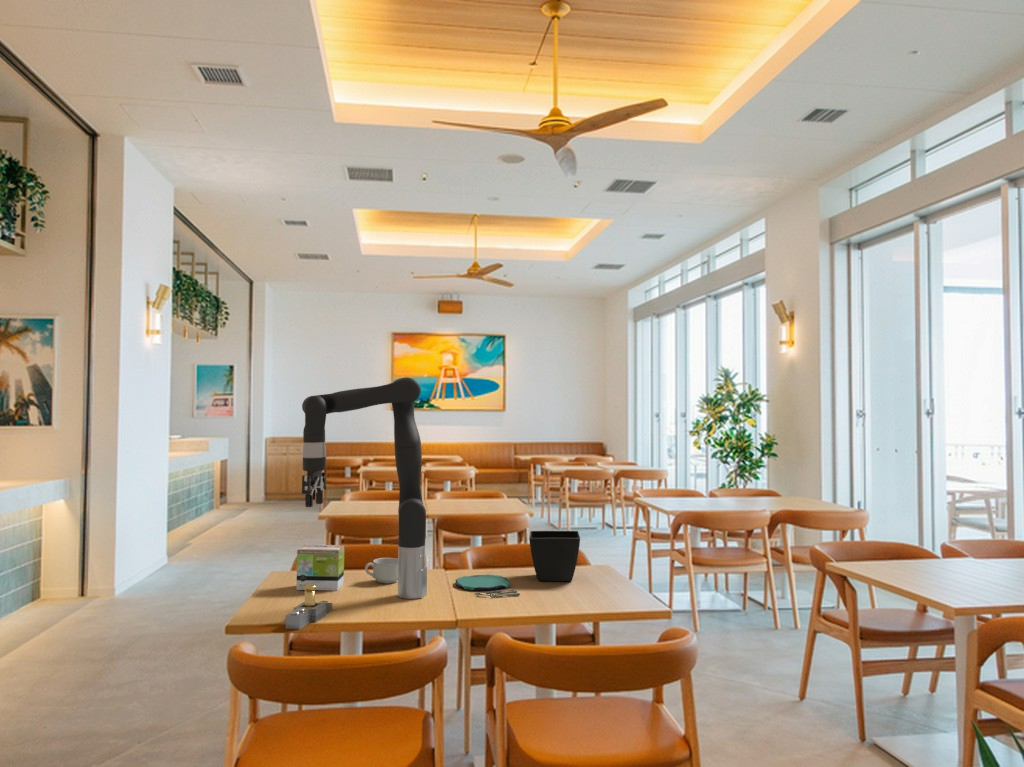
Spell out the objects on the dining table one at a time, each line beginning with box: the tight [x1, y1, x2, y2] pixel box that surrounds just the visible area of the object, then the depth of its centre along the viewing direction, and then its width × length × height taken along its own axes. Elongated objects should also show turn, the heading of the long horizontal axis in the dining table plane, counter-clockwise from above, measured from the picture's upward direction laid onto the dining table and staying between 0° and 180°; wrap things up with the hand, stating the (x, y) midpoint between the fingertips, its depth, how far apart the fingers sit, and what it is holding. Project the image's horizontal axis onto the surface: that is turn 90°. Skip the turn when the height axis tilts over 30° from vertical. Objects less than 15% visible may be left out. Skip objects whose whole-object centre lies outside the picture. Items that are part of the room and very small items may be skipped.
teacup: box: [364, 557, 398, 584], centre depth 286 cm, size 14×11×8 cm
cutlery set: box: [455, 573, 521, 599], centre depth 276 cm, size 20×30×2 cm, turn 18°
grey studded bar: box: [285, 600, 333, 630], centre depth 236 cm, size 7×23×5 cm, turn 170°
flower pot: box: [528, 530, 581, 582], centre depth 293 cm, size 19×19×17 cm
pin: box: [302, 584, 316, 607], centre depth 236 cm, size 4×4×10 cm
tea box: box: [296, 544, 345, 592], centre depth 277 cm, size 15×10×15 cm, turn 90°
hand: (314, 505), depth 253 cm, fingers open, 8 cm apart
